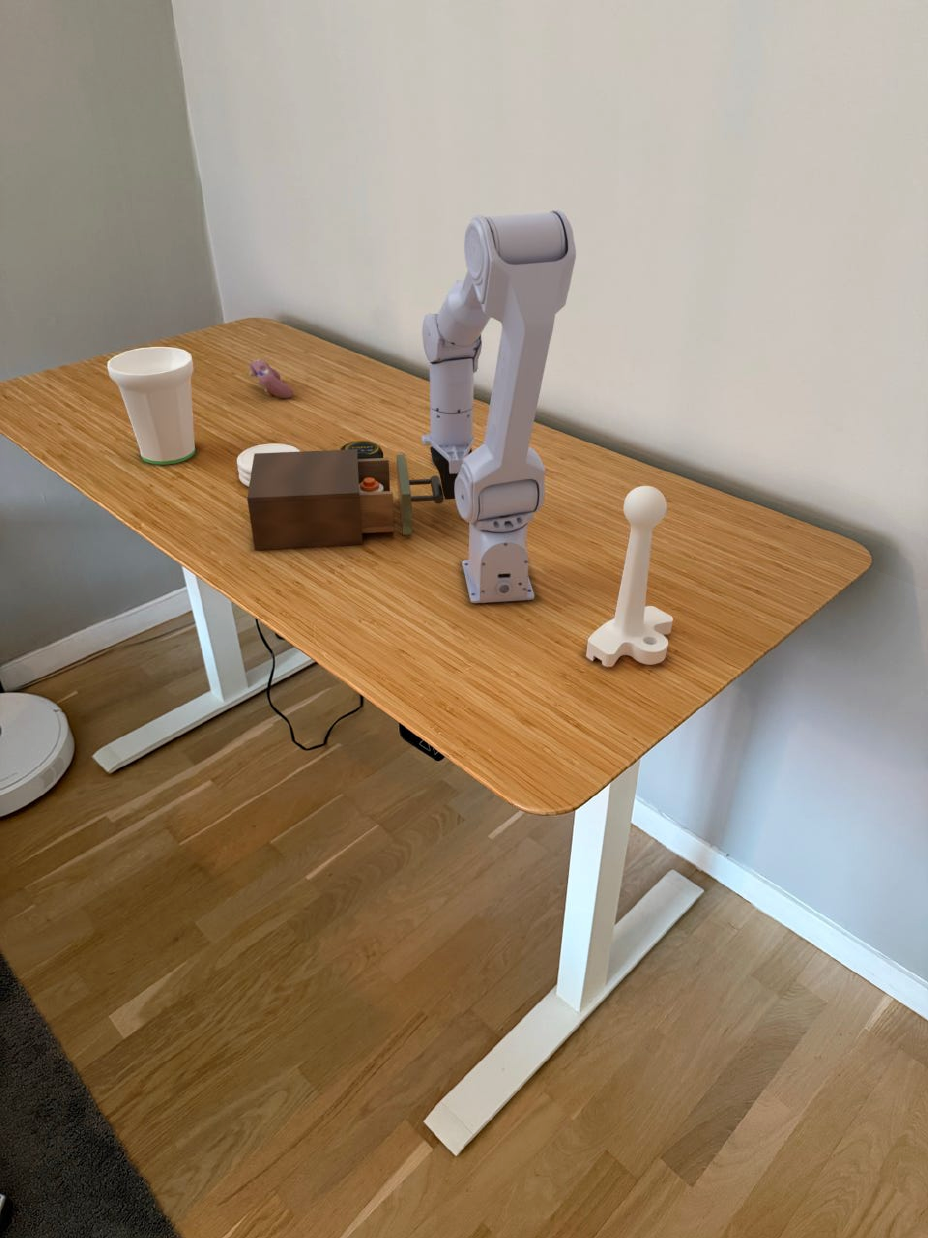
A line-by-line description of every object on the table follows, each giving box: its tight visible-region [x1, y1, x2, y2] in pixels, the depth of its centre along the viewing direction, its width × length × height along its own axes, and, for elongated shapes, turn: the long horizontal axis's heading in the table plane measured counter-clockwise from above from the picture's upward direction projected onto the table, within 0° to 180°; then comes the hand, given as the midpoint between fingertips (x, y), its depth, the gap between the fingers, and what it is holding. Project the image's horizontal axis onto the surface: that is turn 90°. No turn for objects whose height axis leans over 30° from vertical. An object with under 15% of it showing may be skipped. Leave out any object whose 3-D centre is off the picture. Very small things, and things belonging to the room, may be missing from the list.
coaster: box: [236, 442, 301, 488], centre depth 136 cm, size 10×10×4 cm
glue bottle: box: [359, 477, 384, 493], centre depth 124 cm, size 4×4×4 cm
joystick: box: [585, 485, 674, 668], centre depth 97 cm, size 11×8×20 cm
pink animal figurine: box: [248, 358, 294, 399], centre depth 163 cm, size 10×5×7 cm, turn 25°
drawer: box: [357, 454, 445, 535], centre depth 124 cm, size 18×12×6 cm
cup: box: [106, 346, 196, 466], centre depth 139 cm, size 12×12×15 cm
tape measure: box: [339, 440, 384, 459], centre depth 138 cm, size 7×7×4 cm
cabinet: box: [246, 449, 363, 551], centre depth 123 cm, size 14×13×8 cm
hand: (451, 497), depth 126 cm, fingers closed, pressing on drawer
